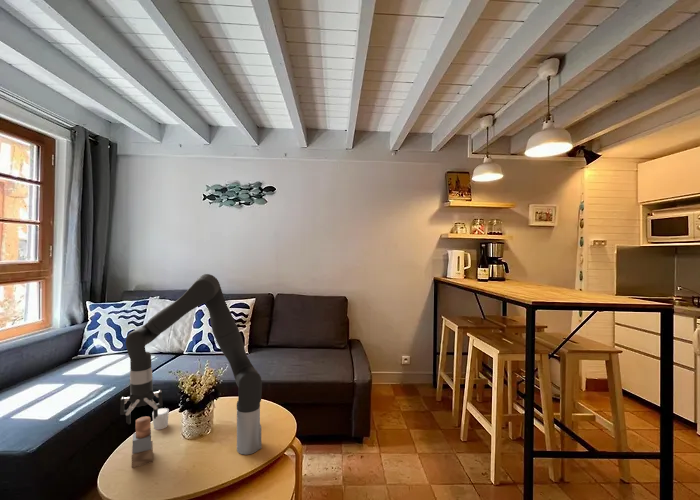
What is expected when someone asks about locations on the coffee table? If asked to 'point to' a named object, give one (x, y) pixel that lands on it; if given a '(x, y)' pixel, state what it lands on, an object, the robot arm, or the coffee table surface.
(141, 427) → the brown rounded knob
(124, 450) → the coffee table surface
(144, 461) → the tower base
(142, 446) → the tower top
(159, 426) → the white cylinder
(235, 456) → the coffee table surface
